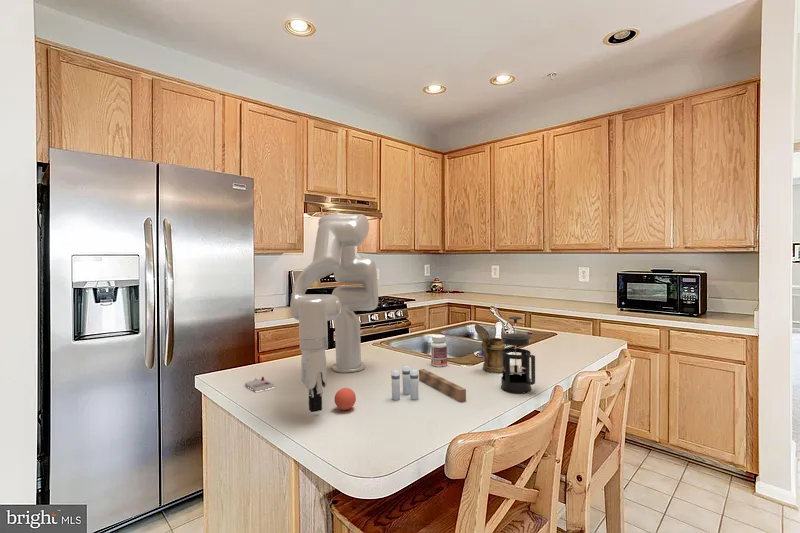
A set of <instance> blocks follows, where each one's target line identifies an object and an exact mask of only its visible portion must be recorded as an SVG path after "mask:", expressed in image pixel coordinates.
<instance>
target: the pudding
mask: <svg viewBox="0 0 800 533" xmlns="http://www.w3.org/2000/svg"><path fill="white" fill-rule="evenodd" d="M477 353H479V354H478V356H477V355H476V354H477ZM473 354H474V356H477V357H479V358H481V357H483V356H484V355H483V353H482V343H480V347H479V350H478V351H475V352H474V353H473ZM479 355H482V356H479Z"/></svg>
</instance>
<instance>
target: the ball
mask: <svg viewBox="0 0 800 533" xmlns="http://www.w3.org/2000/svg"><path fill="white" fill-rule="evenodd" d="M356 397H357V396H356V393H355V392H354V390H352V389H351V388H349V387H342V388H340V389H338V390H337V391H336V393H335V395H334V400H333V401H334V404H335V407H337V408H338V409H340V410H341V411H348V410H350V409H351V408H353V407H354V405H355V404H356V401H357V398H356Z"/></svg>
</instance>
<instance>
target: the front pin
mask: <svg viewBox="0 0 800 533" xmlns="http://www.w3.org/2000/svg"><path fill="white" fill-rule="evenodd" d="M400 376H401V375H400V370H399V369H392V370H391V377H390V378H391V400H393V401H399V400H400V399H401V389H400V388H401V386H400V385H401V384H400V383H401V381H400Z"/></svg>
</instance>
